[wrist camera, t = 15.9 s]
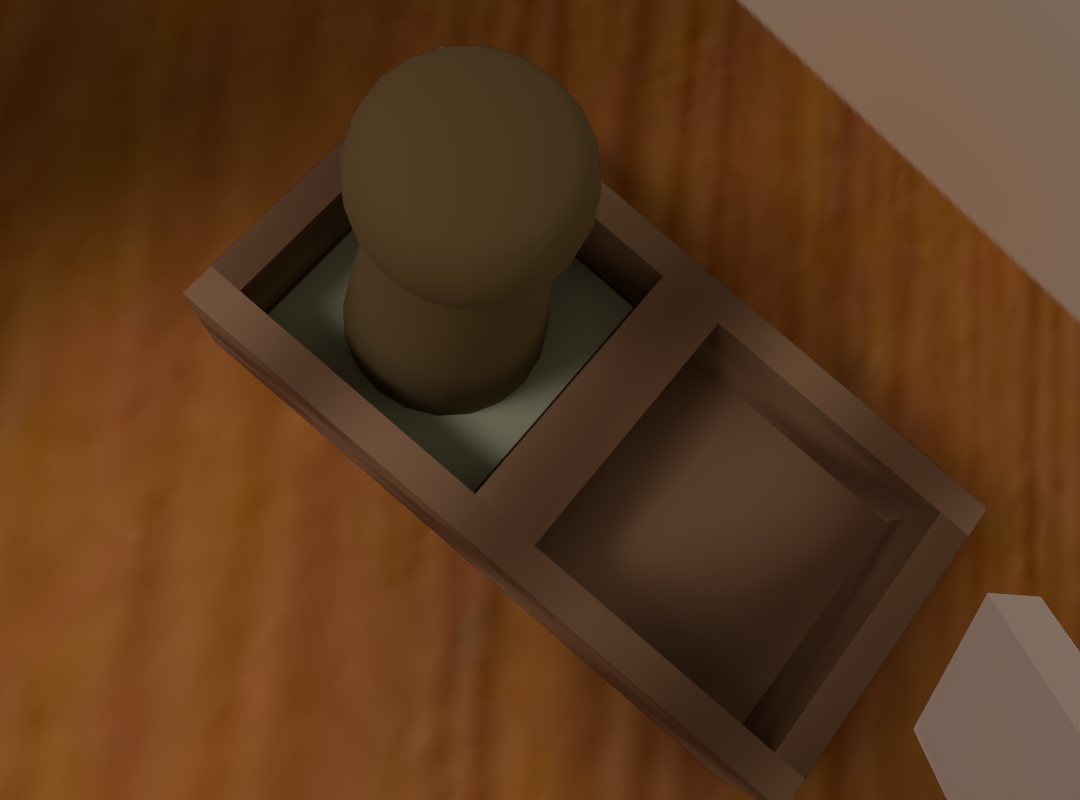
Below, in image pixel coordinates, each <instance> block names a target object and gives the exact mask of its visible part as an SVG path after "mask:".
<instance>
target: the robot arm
mask: <svg viewBox="0 0 1080 800" xmlns="http://www.w3.org/2000/svg"><path fill="white" fill-rule="evenodd" d="M913 730H914V732H915V734H916V736H917V738H918V740H919V742H920V744H921V747H922V749H923V751H924V753H925V755H926V757H927V759H928V761H929V763H930V765H931V768H932V770H933V772H934V774H935V776H936V778H937V780H938V782H939V784H940V787H941V789H942V791H943V793H944V795H945V797H946V799H947V800H1080V651H1079V650H1078V649H1077V647H1076V646H1075V644H1074V643H1073V642H1072V640H1071V639H1070V637H1069V636H1068V635H1067V633H1066V632H1065V630H1064V629H1063V627H1062V626H1061V625H1060V623H1059V622H1058V620H1057V619H1056V618H1055V616H1054V615H1053V613H1052V612H1051V611H1050V609H1049V608H1048V606H1047V605H1046V604H1045V602H1044V601H1043V599H1042V598H1041V597H1038V596H1024V595H1010V594H996V593H987V595H986V597H985V599H984V600H983V602H982V604H981V606H980V608H979V610H978V611H977V613H976V615H975V617H974V619H973V621H972V622H971V624H970V626H969V628H968V630H967V632H966V633H965V635H964V637H963V639H962V641H961V643H960V644H959V646H958V648H957V650H956V652H955V654H954V655H953V657H952V659H951V661H950V663H949V664H948V666H947V668H946V670H945V672H944V674H943V675H942V677H941V679H940V681H939V683H938V685H937V686H936V688H935V690H934V692H933V694H932V696H931V697H930V699H929V701H928V703H927V705H926V707H925V708H924V710H923V712H922V714H921V716H920V718H919V719H918V721H917V723H916V725H915V727H914V729H913Z"/></svg>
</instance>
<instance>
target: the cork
mask: <svg viewBox="0 0 1080 800" xmlns="http://www.w3.org/2000/svg"><path fill="white" fill-rule="evenodd" d="M340 167H341V186H342V199H343V205H344V209H345V211H346V214H347V216H348V219H349V221H350V224H351V226H352V229H353V231H354V233H355V236H356V238H357V241H358V243H359V247H358V251H357V255H356V258H355V262H354V266H353V269H352V273H351V277H350V280H349V284H348V288H347V291H346V295H345V299H344V302H343V318H344V336H345V339H346V341H347V344H348V346H349V349H350V351H351V354H352V356H353V359H354V361H355V364H356V366H357V367H358V368H359V369H360V371H361V372H362V373H363V374H364V375H365V377H366V378H367V379H368V380H369V381H370V382H371V384H372V385H373V386H374V387H375V388H376V390H377V391H379V392H381V393H382V394H384V395H385V396H387V397H389V398H390V399H392V400H394V401H395V402H397V403H398V404H400V405H402V406H403V407H405V408H408V409H412V410H416V411H420V412H424V413H428V414H432V415H436V416H445V415H461V414H471V413H474V412H477V411H479V410H482V409H484V408H487V407H489V406H492V405H495V404H497V403H500V402H501V401H502V400H504V399H505V398H506V397H507V396H508V395H510V394H511V393H512V392H513V391H515V390H516V389H517V388H518V387H519V386H521V385H522V384H523V383H524V382H525V381H526V379H527V377H528V376H529V374H530V373H531V371H532V369H533V368H534V366H535V364H536V363H537V361H538V360H539V358H540V356H541V352H542V348H543V344H544V339H545V335H546V331H547V326H548V317H549V307H550V297H551V288H552V280H553V279H554V278H556V277H557V276H558V275H560V274H561V273H562V272H563V271H565V270H566V269H567V268H568V266H569V265H570V263H571V262H572V260H573V259H574V257H575V255H576V254H577V252H578V251H579V249H580V247H581V246H582V244H583V243H584V241H585V240H586V238H587V236H588V235H589V233H590V231H591V229H592V228H593V225H594V221H595V216H596V212H597V207H598V203H599V199H600V194H601V174H600V165H599V156H598V147H597V140H596V138H595V136H594V134H593V132H592V129H591V127H590V125H589V123H588V121H587V118H586V116H585V114H584V112H583V110H582V107H581V106H580V105H579V104H578V103H577V102H576V101H575V99H574V98H573V97H572V96H571V95H570V94H569V93H568V92H567V90H566V89H565V88H564V87H563V86H562V85H561V84H560V83H559V81H558V80H557V79H556V78H555V77H553V76H552V75H551V74H549V73H547V72H546V71H544V70H543V69H541V68H539V67H538V66H536V65H535V64H533V63H531V62H530V61H528V60H527V59H525V58H524V57H522V56H520V55H516V54H513V53H509V52H506V51H503V50H499V49H496V48H492V47H489V46H447V47H444V48H440V49H437V50H434V51H430V52H427V53H424V54H420V55H417V56H413V57H410V58H408V59H407V60H405V61H404V62H402V63H401V64H399V65H398V66H397V67H395V68H394V69H392V70H391V71H389V72H388V73H386V74H385V75H383V76H382V77H380V78H379V79H378V80H377V81H376V83H375V84H374V85H373V87H372V88H371V89H370V91H369V92H368V93H367V95H366V96H365V97H364V99H363V100H362V101H361V103H360V104H359V106H358V107H357V108H356V110H355V112H354V115H353V117H352V119H351V122H350V125H349V128H348V132H347V135H346V138H345V142H344V145H343V148H342V151H341V155H340Z"/></svg>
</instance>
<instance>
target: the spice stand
mask: <svg viewBox="0 0 1080 800" xmlns="http://www.w3.org/2000/svg"><path fill="white" fill-rule="evenodd" d="M440 48H444V47H443V46H442V45H441V46H440V47H439V48H438V49H440ZM345 138H346V137H345ZM345 138H344V139H343V140H342V141H341V142H340V143H339V144H338V145H336V146H335V147H334V148H333V149H332V150H331V151H330V152H329V153H328V154H327V155H326V156H325V157H324V158H323V159H322V160H321V161H320V162H319V163H318V164H317V165H316V166H315V167H313V168H312V169H311V170H310V171H309V172H308V173H307V174H306V175H305V176H304V177H303V178H302V179H301V180H300V181H299V182H298V183H297V184H296V185H295V186H294V187H293V188H292V189H290V190H289V191H288V192H287V193H286V194H285V195H284V196H283V197H282V198H281V199H280V200H279V201H278V202H277V203H276V204H275V205H274V206H273V207H272V208H271V209H270V210H268V211H267V212H266V213H265V214H264V215H263V216H262V217H261V218H260V219H259V220H258V221H257V222H256V223H255V224H254V225H253V226H252V227H251V228H250V229H249V230H248V231H247V232H245V233H244V234H243V235H242V236H241V237H240V238H239V239H238V240H237V241H236V242H235V243H234V244H233V245H232V246H231V247H230V248H229V249H228V250H227V251H226V252H225V253H224V254H222V255H221V256H220V257H219V258H218V259H217V260H216V261H215V262H214V263H213V264H212V265H211V266H210V267H209V268H208V269H207V270H206V271H205V272H204V273H203V274H202V275H201V276H199V277H198V278H197V279H196V280H195V281H194V282H193V283H192V284H191V285H190V286H189V287H188V288H187V289H186V290H185V291H184V292H183V295H184V296H185V298H186V299H187V301H188V302H189V304H190V305H191V307H192V308H193V310H194V311H195V313H196V314H197V316H198V317H199V319H200V320H201V322H202V323H203V325H204V326H205V328H206V329H207V331H208V332H209V334H210V335H211V337H212V338H213V340H214V341H215V342H216V343H217V344H219V345H220V346H221V347H222V348H223V349H224V350H225V351H227V352H228V353H229V354H230V355H231V356H232V357H234V358H235V359H236V360H237V361H238V362H239V363H240V364H242V365H243V366H244V367H245V368H246V369H247V370H249V371H250V372H251V373H252V374H253V375H254V376H255V377H257V378H258V379H259V380H260V381H261V382H262V383H264V384H265V385H266V386H267V387H268V388H269V389H270V390H272V391H273V392H274V393H275V394H276V395H277V396H279V397H280V398H281V399H282V400H283V401H284V402H285V403H287V404H288V405H289V406H290V407H291V408H292V409H294V410H295V411H296V412H297V413H298V414H299V415H300V416H302V417H303V418H304V419H305V420H306V421H307V422H309V423H310V424H311V425H312V426H313V427H314V428H316V429H317V430H318V431H319V432H320V433H321V434H322V435H324V436H325V437H326V438H327V439H328V440H329V441H331V442H332V443H333V444H334V445H335V446H336V447H337V448H339V449H340V450H341V451H342V452H343V453H344V454H346V455H347V456H348V457H349V458H350V459H351V460H352V461H354V462H355V463H356V464H357V465H358V466H359V467H361V468H362V469H363V470H364V471H365V472H366V473H367V474H369V475H370V476H371V477H372V478H373V479H374V480H376V481H377V482H378V483H379V484H380V485H381V486H382V487H384V488H385V489H386V490H387V491H388V492H389V493H391V494H392V495H393V496H394V497H395V498H396V499H398V500H399V501H400V502H401V503H402V504H403V505H404V506H406V507H407V508H408V509H409V510H410V511H411V512H413V513H414V514H415V515H416V516H417V517H418V518H419V519H421V520H422V521H423V522H424V523H425V524H426V525H428V526H429V527H430V528H431V529H432V530H433V531H434V532H436V533H437V534H438V535H439V536H440V537H441V538H443V539H444V540H445V541H446V542H447V543H448V544H449V545H451V546H452V547H453V548H454V549H455V550H456V551H458V552H459V553H460V554H461V555H462V556H463V557H464V558H466V559H467V560H468V561H469V562H470V563H471V564H473V565H474V566H475V567H476V568H477V569H478V570H480V571H481V572H482V573H483V574H484V575H485V576H486V577H488V578H489V579H490V580H491V581H492V582H493V583H495V584H496V585H497V586H498V587H499V588H500V589H501V590H503V591H504V592H505V593H506V594H507V595H508V596H510V597H511V598H512V599H513V600H514V601H515V602H516V603H518V604H519V605H520V606H521V607H522V608H523V609H525V610H526V611H527V612H528V613H529V614H530V615H531V616H533V617H534V618H535V619H536V620H537V621H538V622H540V623H541V624H542V625H543V626H544V627H545V628H546V629H548V630H549V631H550V632H551V633H552V634H553V635H555V636H556V637H557V638H558V639H559V640H560V641H562V642H563V643H564V644H565V645H566V646H567V647H568V648H570V649H571V650H572V651H573V652H574V653H575V654H577V655H578V656H579V657H580V658H581V659H582V660H583V661H585V662H586V663H587V664H588V665H589V666H590V667H592V668H593V669H594V670H595V671H596V672H597V673H598V674H600V675H601V676H602V677H603V678H604V679H605V680H607V681H608V682H609V683H610V684H611V685H612V686H613V687H615V688H616V689H617V690H618V691H619V692H620V693H622V694H623V695H624V696H625V697H626V698H627V699H628V700H630V701H631V702H632V703H633V704H634V705H635V706H637V707H638V708H639V709H640V710H641V711H642V712H644V713H645V714H646V715H647V716H648V717H649V718H650V719H652V720H653V721H654V722H655V723H656V724H657V725H659V726H660V727H661V728H662V729H663V730H664V731H665V732H667V733H668V734H669V735H670V736H671V737H672V738H674V739H675V740H676V741H677V742H678V743H679V744H680V745H682V746H683V747H684V748H685V749H686V750H687V751H689V752H690V753H691V754H692V755H693V756H694V757H695V758H697V759H698V760H699V761H700V762H701V763H702V764H704V765H705V766H706V767H707V768H708V769H709V770H710V771H712V772H713V773H714V774H715V775H716V776H717V777H719V778H720V779H721V780H722V781H724V782H726V783H728V784H730V785H732V786H733V787H735V788H737V789H739V790H741V791H743V792H745V793H747V794H749V795H751V796H753V797H754V798H756V799H758V800H791V799H792V798H793V796H794V795H795V793H796V792H797V790H798V789H799V787H800V786H801V784H802V783H803V781H804V780H805V778H806V777H807V775H808V774H809V772H810V771H811V769H812V768H813V766H814V765H815V763H816V762H817V760H818V759H819V757H820V756H821V755H822V753H823V752H824V750H825V749H826V747H827V746H828V744H829V743H830V741H831V740H832V738H833V737H834V735H835V734H836V732H837V731H838V729H839V728H840V726H841V725H842V723H843V722H844V720H845V719H846V717H847V716H848V715H849V713H850V712H851V710H852V709H853V707H854V706H855V704H856V703H857V701H858V700H859V698H860V697H861V695H862V694H863V692H864V691H865V689H866V688H867V686H868V685H869V683H870V682H871V680H872V679H873V677H874V676H875V674H876V673H877V672H878V670H879V669H880V667H881V666H882V664H883V663H884V661H885V660H886V658H887V657H888V655H889V654H890V652H891V651H892V649H893V648H894V646H895V645H896V643H897V642H898V640H899V639H900V637H901V636H902V634H903V633H904V631H905V630H906V629H907V627H908V626H909V624H910V623H911V621H912V620H913V618H914V617H915V615H916V614H917V612H918V611H919V609H920V608H921V606H922V605H923V603H924V602H925V600H926V599H927V597H928V596H929V594H930V593H931V591H932V590H933V589H934V587H935V586H936V584H937V583H938V581H939V580H940V578H941V577H942V575H943V574H944V572H945V571H946V569H947V568H948V566H949V565H950V563H951V562H952V560H953V559H954V557H955V556H956V554H957V553H958V551H959V550H960V548H961V547H962V546H963V544H964V543H965V541H966V540H967V538H968V537H969V535H970V534H971V532H972V531H973V529H974V528H975V526H976V525H977V523H978V522H979V520H980V519H981V517H982V516H983V514H984V513H985V511H986V510H987V508H986V507H985V506H984V505H983V504H982V503H980V502H979V501H978V500H977V499H976V498H975V497H973V496H972V495H971V494H970V493H969V492H968V491H966V490H965V489H964V488H963V487H962V486H960V485H959V484H958V483H957V482H956V481H955V480H953V479H952V478H951V477H950V476H949V475H948V474H946V473H945V472H944V471H943V470H942V469H940V468H939V467H938V466H937V465H936V464H935V463H933V462H932V461H931V460H930V459H929V458H927V457H926V456H925V455H924V454H923V453H922V452H920V451H919V450H918V449H917V448H916V447H915V446H913V445H912V444H911V443H910V442H909V441H907V440H906V439H905V438H904V437H903V436H902V435H900V434H899V433H898V432H897V431H896V430H895V429H893V428H892V427H891V426H890V425H889V424H887V423H886V422H885V421H884V420H883V419H882V418H880V417H879V416H878V415H877V414H876V413H874V412H873V411H872V410H871V409H870V408H869V407H867V406H866V405H865V404H864V403H863V402H862V401H860V400H859V399H858V398H857V397H856V396H854V395H853V394H852V393H851V392H850V391H849V390H847V389H846V388H845V387H844V386H843V385H841V384H840V383H839V382H838V381H837V380H836V379H834V378H833V377H832V376H831V375H830V374H829V373H827V372H826V371H825V370H824V369H823V368H821V367H820V366H819V365H818V364H817V363H816V362H814V361H813V360H812V359H811V358H810V357H809V356H807V355H806V354H805V353H804V352H803V351H801V350H800V349H799V348H798V347H797V346H796V345H794V344H793V343H792V342H791V341H790V340H788V339H787V338H786V337H785V336H784V335H783V334H781V333H780V332H779V331H778V330H777V329H776V328H774V327H773V326H772V325H771V324H770V323H768V322H767V321H766V320H765V319H764V318H763V317H761V316H760V315H759V314H758V313H757V312H756V311H754V310H753V309H752V308H751V307H750V306H748V305H747V304H746V303H745V302H744V301H743V300H741V299H740V298H739V297H738V296H737V295H735V294H734V293H733V292H732V291H731V290H730V289H728V288H727V287H726V286H725V285H724V284H723V283H721V282H720V281H719V280H718V279H717V278H715V277H714V276H713V275H712V274H711V273H710V272H708V271H707V270H706V269H705V268H704V267H703V266H701V265H700V264H699V263H698V262H697V261H695V260H694V259H693V258H692V257H691V256H690V255H688V254H687V253H686V252H685V251H684V250H682V249H681V248H680V247H679V246H678V245H677V244H675V243H674V242H673V241H672V240H671V239H670V238H668V237H667V236H666V235H665V234H664V233H662V232H661V231H660V230H659V229H658V228H657V227H655V226H654V225H653V224H652V223H651V222H649V221H648V220H647V219H646V218H645V217H644V216H642V215H641V214H640V213H639V212H638V211H637V210H635V209H634V208H633V207H632V206H631V205H629V204H628V203H627V202H626V201H625V200H624V199H622V198H621V197H620V196H619V195H618V194H617V193H615V192H614V191H613V190H612V189H611V188H609V187H608V186H607V185H606V184H605V183H604V182H602V181H601V194H600V199H599V203H598V207H597V212H596V216H595V221H594V225H593V228H592V229H591V231H590V233H589V235H588V236H587V238H586V240H585V241H584V243H583V244H582V246H581V247H580V249H579V251H578V252H577V254H576V255H575V257H574V259H573V260H572V262H571V263H570V265H569V266H568V268H567V269H566V270H565V271H563V272H562V273H561V274H560V275H558V276H557V277H556V278H554V279H553V280H552V288H551V297H550V307H549V317H548V326H547V331H546V335H545V339H544V344H543V348H542V352H541V356H540V358H539V360H538V361H537V363H536V364H535V366H534V368H533V369H532V371H531V373H530V374H529V376H528V377H527V379H526V381H525V382H524V383H523V384H522V385H521V386H519V387H518V388H517V389H516V390H515V391H513V392H512V393H511V394H510V395H508V396H507V397H506V398H505V399H504V400H502V401H501V402H500V403H497V404H495V405H492V406H489V407H487V408H484V409H482V410H479V411H477V412H474V413H471V414H461V415H445V416H436V415H432V414H428V413H424V412H420V411H416V410H412V409H408V408H405V407H403V406H402V405H400V404H398V403H397V402H395V401H394V400H392V399H390V398H389V397H387V396H385V395H384V394H382V393H381V392H379V391H377V390H376V388H375V387H374V386H373V385H372V384H371V382H370V381H369V380H368V379H367V378H366V377H365V375H364V374H363V373H362V372H361V371H360V369H359V368H358V367H357V366H356V364H355V361H354V359H353V356H352V354H351V351H350V349H349V346H348V344H347V341H346V339H345V336H344V318H343V302H344V299H345V295H346V291H347V288H348V284H349V280H350V277H351V273H352V269H353V266H354V262H355V258H356V255H357V251H358V247H359V243H358V241H357V238H356V236H355V233H354V231H353V229H352V226H351V224H350V221H349V219H348V216H347V214H346V211H345V209H344V205H343V199H342V186H341V167H340V155H341V151H342V148H343V145H344V142H345Z"/></svg>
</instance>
